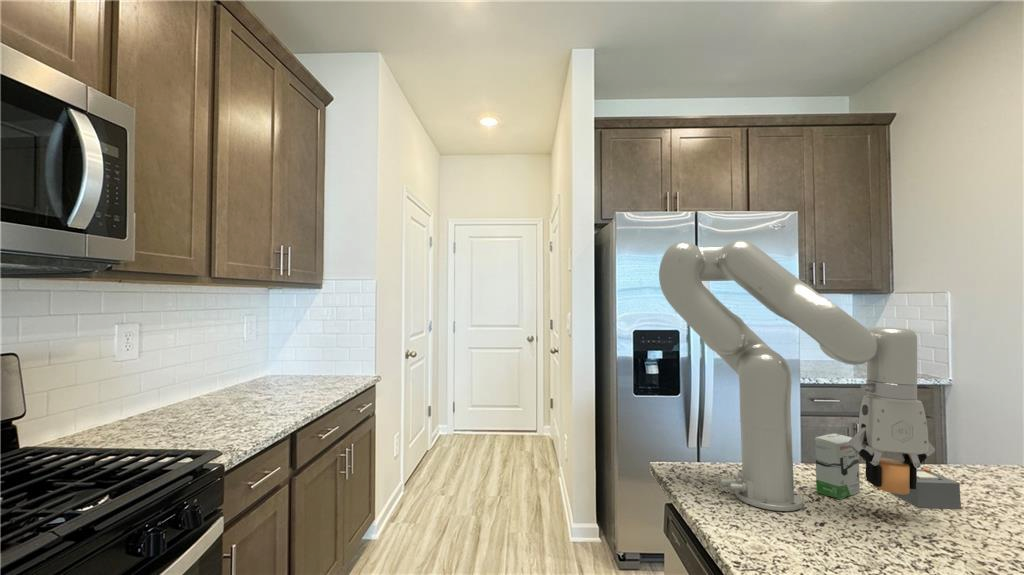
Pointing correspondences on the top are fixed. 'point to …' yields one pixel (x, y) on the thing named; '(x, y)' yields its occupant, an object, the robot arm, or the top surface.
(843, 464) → the ink box
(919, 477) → the button
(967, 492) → the top surface
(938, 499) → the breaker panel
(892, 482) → the cap
